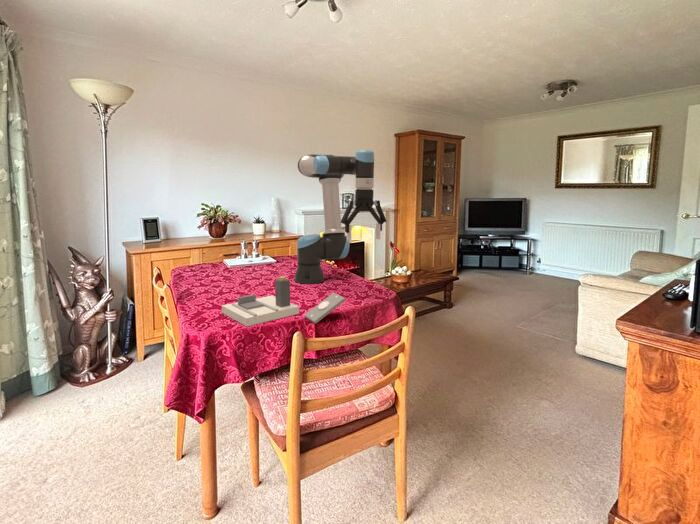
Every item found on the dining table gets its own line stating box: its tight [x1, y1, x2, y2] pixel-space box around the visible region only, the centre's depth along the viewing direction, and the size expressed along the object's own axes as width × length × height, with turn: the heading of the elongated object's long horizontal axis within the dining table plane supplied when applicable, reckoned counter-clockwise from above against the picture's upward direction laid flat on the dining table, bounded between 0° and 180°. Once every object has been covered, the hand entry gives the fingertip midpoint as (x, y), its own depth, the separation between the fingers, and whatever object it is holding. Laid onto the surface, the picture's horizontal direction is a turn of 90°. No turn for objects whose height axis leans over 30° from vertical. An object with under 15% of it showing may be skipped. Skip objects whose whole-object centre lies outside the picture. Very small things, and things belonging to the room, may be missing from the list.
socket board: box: [221, 295, 300, 327], centre depth 155 cm, size 20×22×4 cm
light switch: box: [304, 292, 347, 325], centre depth 151 cm, size 8×6×14 cm
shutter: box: [237, 294, 263, 310], centre depth 154 cm, size 7×7×3 cm
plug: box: [274, 275, 291, 307], centre depth 155 cm, size 4×4×11 cm
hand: (363, 239), depth 172 cm, fingers open, 13 cm apart
